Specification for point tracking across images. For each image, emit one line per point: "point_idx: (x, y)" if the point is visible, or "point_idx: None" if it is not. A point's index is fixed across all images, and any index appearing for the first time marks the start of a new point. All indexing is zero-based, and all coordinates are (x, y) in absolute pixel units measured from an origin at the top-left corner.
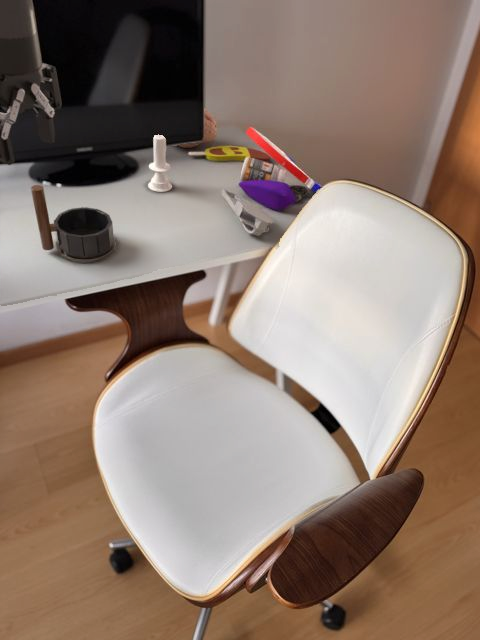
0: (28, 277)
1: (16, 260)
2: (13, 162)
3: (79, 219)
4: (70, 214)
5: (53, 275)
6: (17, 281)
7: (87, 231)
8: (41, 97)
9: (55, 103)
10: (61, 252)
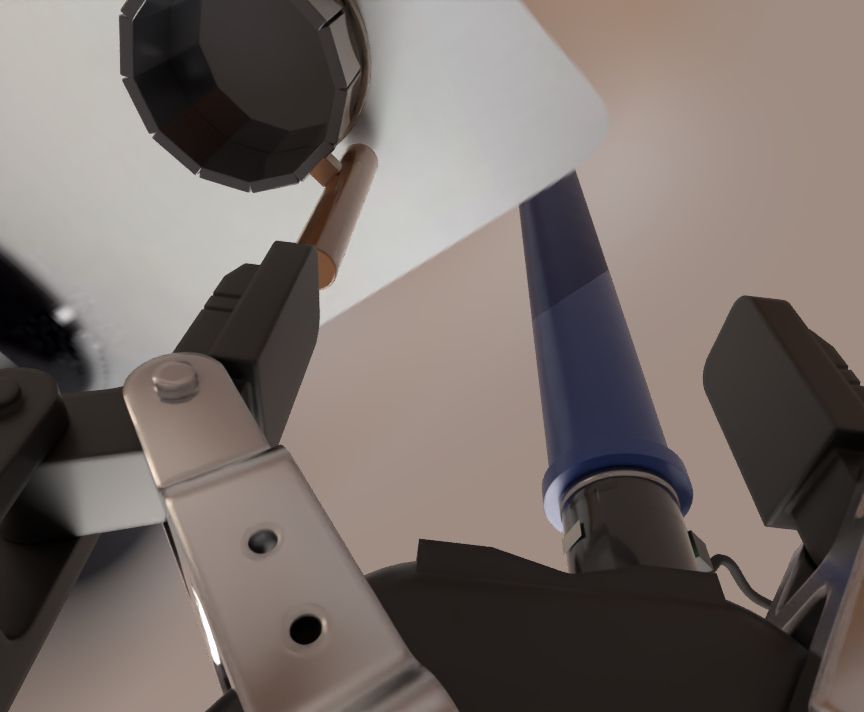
0: (507, 136)
1: (446, 215)
2: (761, 297)
3: (197, 134)
4: (215, 163)
5: (466, 68)
6: (537, 154)
7: (212, 88)
8: (281, 602)
9: (36, 435)
10: (358, 108)
